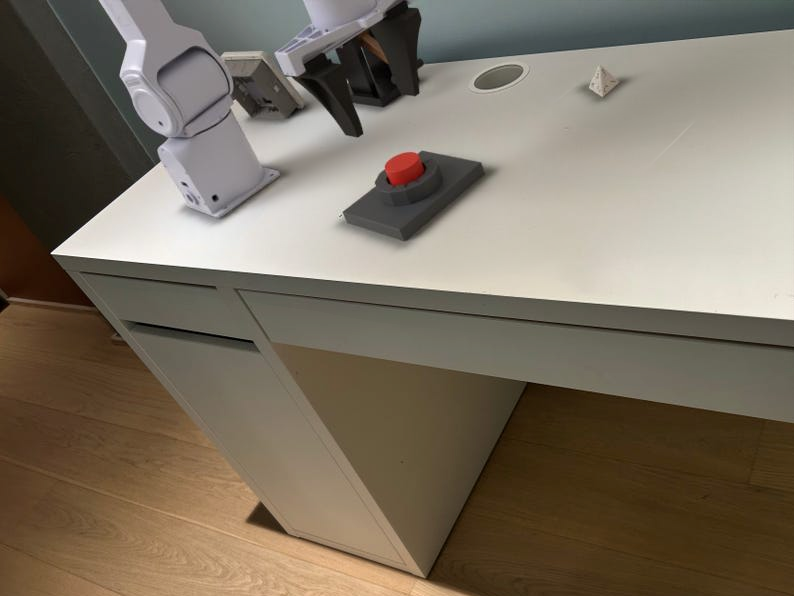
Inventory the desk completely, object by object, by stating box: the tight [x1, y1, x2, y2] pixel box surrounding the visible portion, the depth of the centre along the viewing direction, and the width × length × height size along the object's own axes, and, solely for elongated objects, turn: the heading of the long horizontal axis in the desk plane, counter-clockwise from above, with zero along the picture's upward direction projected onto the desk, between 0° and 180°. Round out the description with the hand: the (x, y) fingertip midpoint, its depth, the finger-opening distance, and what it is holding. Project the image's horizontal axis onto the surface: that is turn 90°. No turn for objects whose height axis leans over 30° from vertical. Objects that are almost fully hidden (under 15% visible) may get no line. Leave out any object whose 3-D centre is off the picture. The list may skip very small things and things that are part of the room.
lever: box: [356, 28, 425, 85], centre depth 91 cm, size 11×5×2 cm, turn 48°
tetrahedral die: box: [588, 64, 620, 98], centre depth 80 cm, size 4×3×3 cm
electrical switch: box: [219, 50, 306, 120], centre depth 99 cm, size 9×5×9 cm, turn 57°
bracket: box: [334, 29, 421, 108], centre depth 94 cm, size 10×7×10 cm
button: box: [384, 151, 424, 186], centre depth 72 cm, size 4×4×2 cm
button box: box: [341, 150, 485, 242], centre depth 73 cm, size 12×9×3 cm
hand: (383, 113), depth 68 cm, fingers open, 7 cm apart
